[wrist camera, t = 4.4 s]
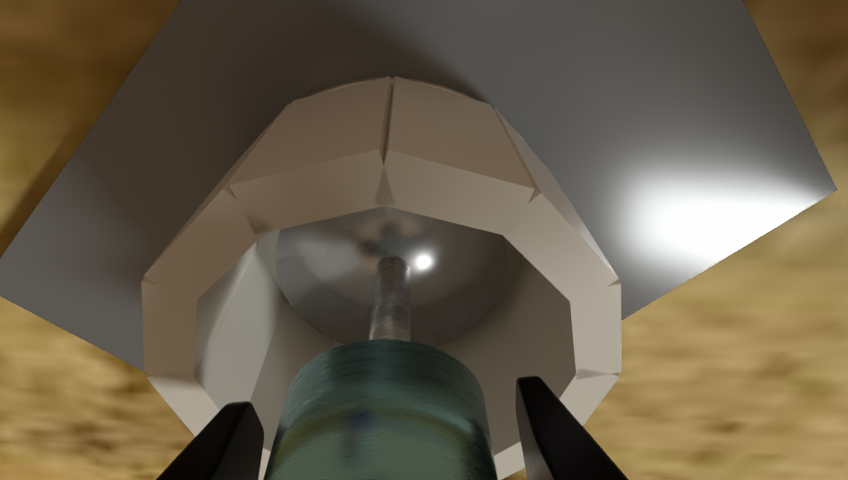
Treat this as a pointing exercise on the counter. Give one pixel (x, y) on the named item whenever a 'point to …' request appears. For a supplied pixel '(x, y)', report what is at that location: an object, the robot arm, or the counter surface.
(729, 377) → the counter surface
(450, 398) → the wine glass
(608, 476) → the robot arm
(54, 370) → the counter surface
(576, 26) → the plate
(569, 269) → the thick white ring cup
